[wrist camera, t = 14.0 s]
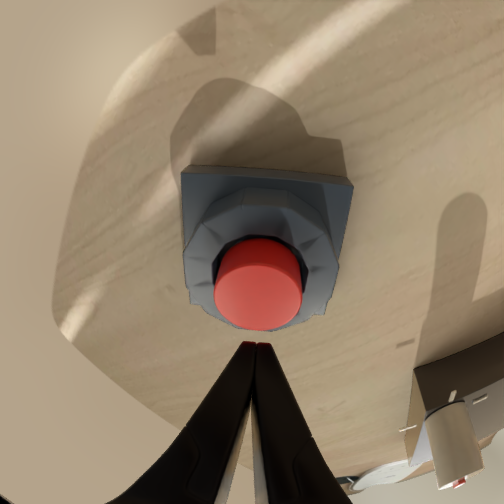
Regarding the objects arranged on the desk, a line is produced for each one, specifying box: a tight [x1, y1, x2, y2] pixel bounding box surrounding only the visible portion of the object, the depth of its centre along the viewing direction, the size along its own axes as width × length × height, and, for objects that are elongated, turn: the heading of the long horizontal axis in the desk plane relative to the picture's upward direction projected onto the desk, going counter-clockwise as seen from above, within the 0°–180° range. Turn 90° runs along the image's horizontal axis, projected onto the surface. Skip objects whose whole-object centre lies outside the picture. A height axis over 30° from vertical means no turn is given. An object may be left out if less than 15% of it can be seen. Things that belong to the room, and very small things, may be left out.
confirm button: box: [213, 238, 303, 330], centre depth 11 cm, size 3×3×2 cm
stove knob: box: [425, 402, 484, 489], centre depth 14 cm, size 4×4×6 cm
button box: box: [181, 165, 354, 332], centre depth 13 cm, size 7×7×3 cm
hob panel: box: [399, 332, 504, 467], centre depth 20 cm, size 20×17×4 cm
